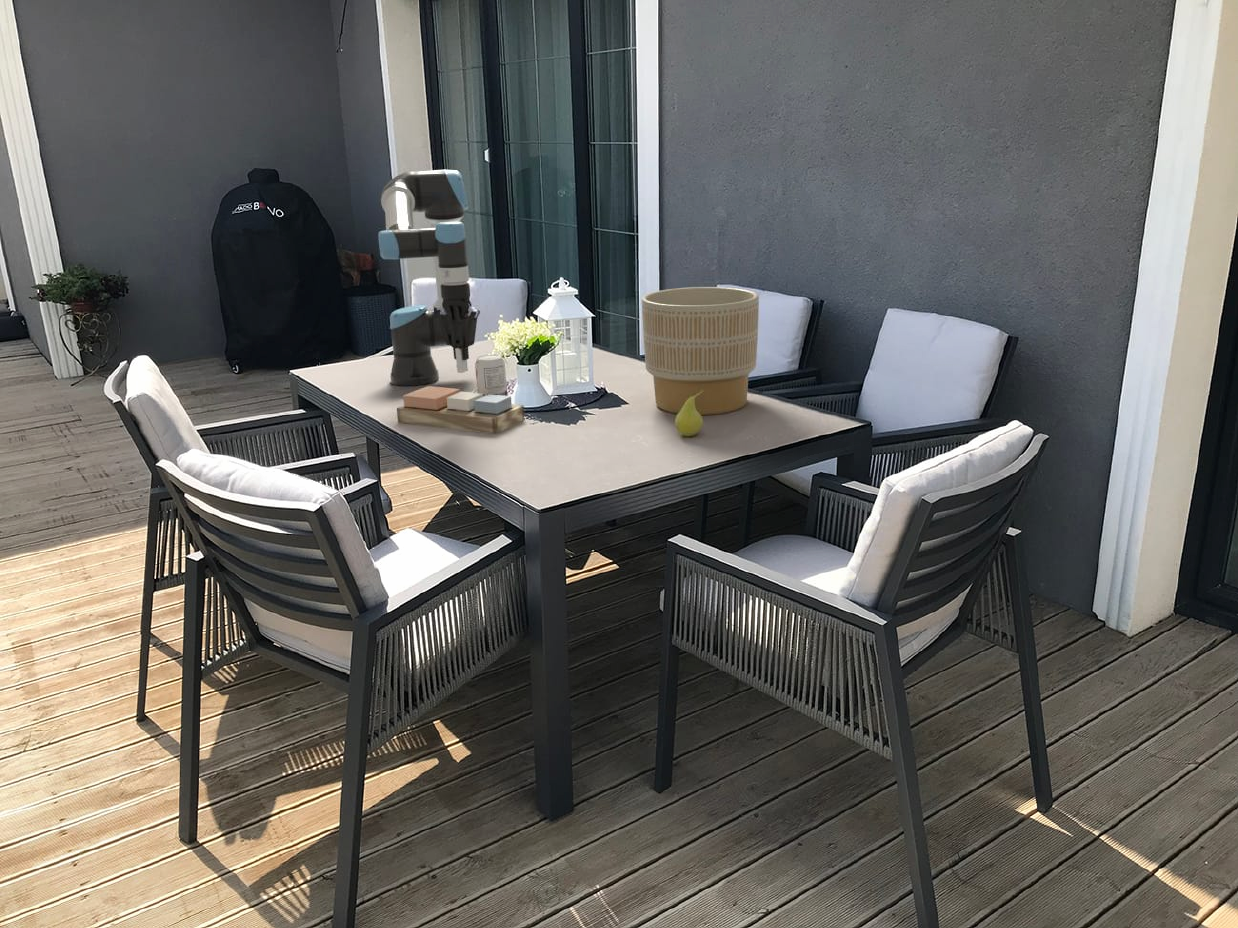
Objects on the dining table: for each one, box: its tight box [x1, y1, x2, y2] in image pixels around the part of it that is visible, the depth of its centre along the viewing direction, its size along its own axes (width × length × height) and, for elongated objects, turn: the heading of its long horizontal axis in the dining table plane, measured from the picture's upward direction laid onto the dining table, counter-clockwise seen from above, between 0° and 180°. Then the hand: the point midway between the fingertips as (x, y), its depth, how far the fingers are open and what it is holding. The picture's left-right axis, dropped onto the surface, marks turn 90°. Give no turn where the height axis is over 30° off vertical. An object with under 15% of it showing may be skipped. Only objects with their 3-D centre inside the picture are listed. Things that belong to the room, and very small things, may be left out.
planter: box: [641, 286, 760, 416], centre depth 275 cm, size 32×32×30 cm
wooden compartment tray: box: [396, 403, 525, 435], centre depth 271 cm, size 14×32×4 cm, turn 63°
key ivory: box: [447, 391, 483, 413], centre depth 269 cm, size 7×7×4 cm
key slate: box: [474, 394, 513, 416], centre depth 265 cm, size 7×7×4 cm
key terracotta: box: [402, 385, 461, 412], centre depth 274 cm, size 11×11×4 cm
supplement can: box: [474, 354, 508, 397], centre depth 279 cm, size 8×8×15 cm
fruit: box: [674, 389, 705, 437], centre depth 249 cm, size 7×8×12 cm
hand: (462, 371), depth 266 cm, fingers closed
